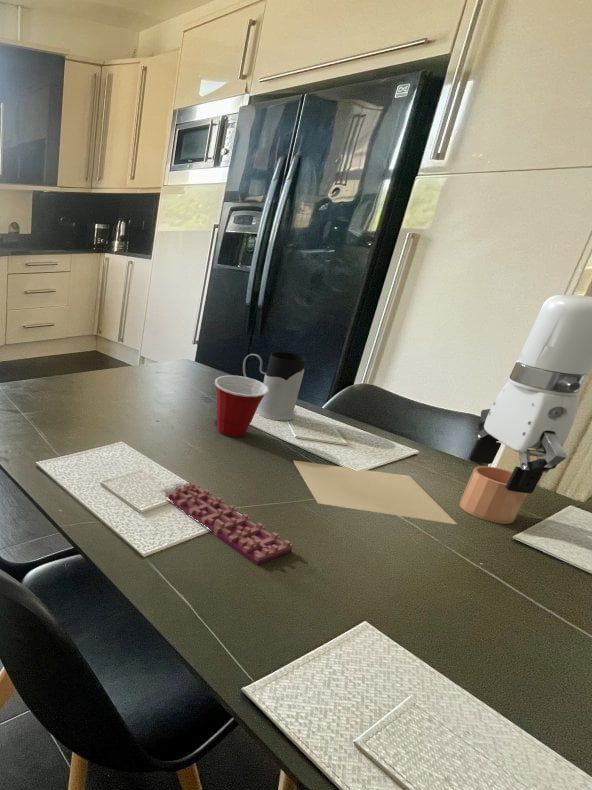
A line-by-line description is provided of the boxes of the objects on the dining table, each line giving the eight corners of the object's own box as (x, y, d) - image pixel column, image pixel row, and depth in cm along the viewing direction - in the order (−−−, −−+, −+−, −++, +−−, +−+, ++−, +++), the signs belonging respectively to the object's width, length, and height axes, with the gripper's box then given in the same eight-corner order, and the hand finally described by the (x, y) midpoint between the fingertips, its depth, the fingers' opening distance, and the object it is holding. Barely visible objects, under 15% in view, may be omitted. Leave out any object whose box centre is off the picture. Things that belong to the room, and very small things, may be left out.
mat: (408, 476, 93) (409, 475, 93) (471, 539, 75) (472, 538, 75) (292, 461, 98) (293, 460, 98) (325, 516, 81) (326, 515, 80)
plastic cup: (209, 439, 107) (219, 389, 103) (202, 420, 117) (211, 373, 112) (263, 445, 105) (275, 394, 100) (250, 425, 115) (261, 377, 110)
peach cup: (497, 504, 85) (514, 469, 82) (524, 527, 79) (543, 490, 76) (450, 498, 86) (465, 463, 84) (473, 519, 80) (490, 483, 78)
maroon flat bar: (193, 488, 88) (195, 479, 87) (290, 552, 72) (293, 541, 71) (162, 497, 85) (164, 487, 85) (256, 565, 69) (259, 554, 69)
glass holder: (285, 423, 116) (300, 363, 110) (227, 405, 126) (238, 350, 120) (300, 415, 121) (315, 357, 115) (243, 398, 131) (254, 344, 126)
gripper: (628, 402, 65) (566, 509, 72) (535, 365, 80) (491, 455, 87) (558, 394, 67) (504, 499, 73) (481, 359, 82) (442, 449, 89)
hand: (497, 475), depth 80 cm, fingers open, 9 cm apart
